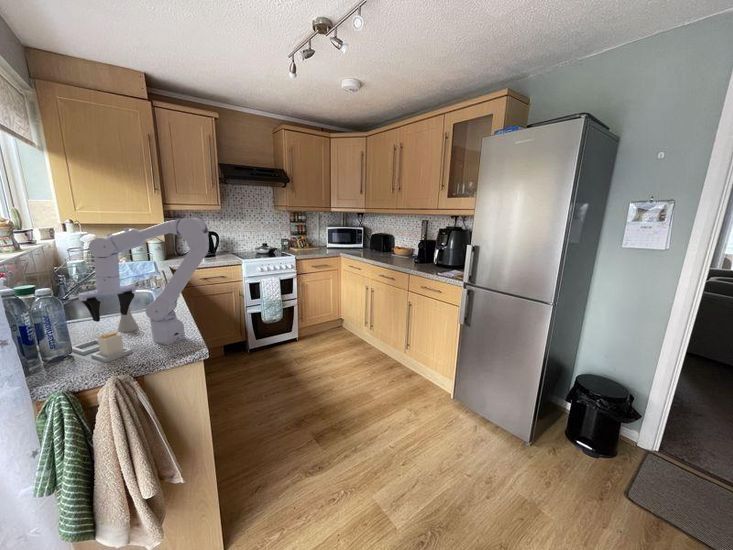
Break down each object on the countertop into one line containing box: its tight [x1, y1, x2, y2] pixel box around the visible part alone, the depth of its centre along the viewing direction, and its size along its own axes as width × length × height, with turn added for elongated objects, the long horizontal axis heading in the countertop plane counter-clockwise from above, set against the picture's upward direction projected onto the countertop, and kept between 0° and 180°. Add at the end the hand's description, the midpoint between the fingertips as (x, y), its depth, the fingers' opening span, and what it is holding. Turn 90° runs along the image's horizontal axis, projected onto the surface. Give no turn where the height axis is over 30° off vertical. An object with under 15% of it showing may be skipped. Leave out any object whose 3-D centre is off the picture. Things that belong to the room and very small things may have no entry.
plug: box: [96, 331, 124, 357], centre depth 90 cm, size 4×4×7 cm
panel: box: [68, 338, 139, 366], centre depth 93 cm, size 18×10×2 cm, turn 68°
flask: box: [116, 304, 139, 333], centre depth 109 cm, size 7×7×10 cm
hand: (110, 317), depth 97 cm, fingers open, 7 cm apart
